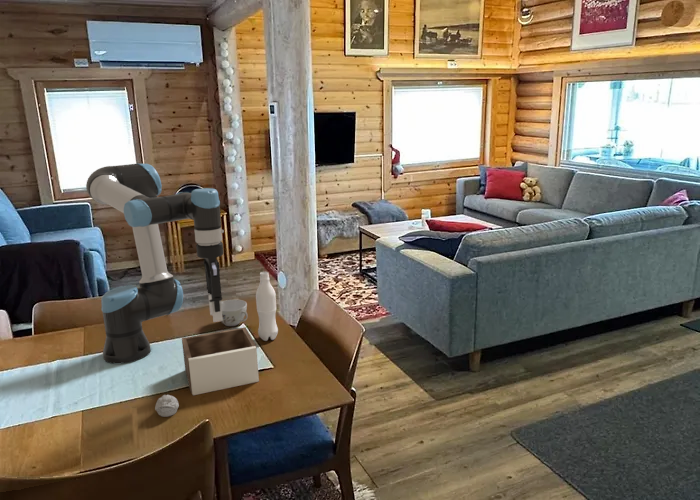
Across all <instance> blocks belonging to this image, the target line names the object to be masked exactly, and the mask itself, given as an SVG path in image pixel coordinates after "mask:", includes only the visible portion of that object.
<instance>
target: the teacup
mask: <svg viewBox="0 0 700 500" xmlns="http://www.w3.org/2000/svg"><path fill="white" fill-rule="evenodd" d="M221 306H222V317H223V321H220V322H221V324H223V325H225V326H226V327H235V326H237V325H239V324H240V323H241V322H246V321H247V319H248V312H247V307H248V303H247V301H245V300H243V299H237V298H235V299H227V300H221Z"/></svg>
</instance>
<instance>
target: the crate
mask: <svg viewBox="0 0 700 500" xmlns="http://www.w3.org/2000/svg"><path fill="white" fill-rule="evenodd" d="M181 342H182V344H181V345H182V352H183V361H184V362H183V363H184V371H185V375H186V379H187V382H188V387H189V391H190V394H192V388H191V378H190V369H189V360H188V358H193V357H199V356H204V355H209V354H215V353H220V352H226V351H231V350H236V349H242V348H247V347H252V346H256V347H257V344H256V343H255V341H254V340H253V338H252V336H251V334H250V332H249V331H248V329H247V328H246V327H239V328H234V329H227V330H220V331H216V332H210V333H204V334H199V335H193V336H187V337H186V336H185V337H181Z"/></svg>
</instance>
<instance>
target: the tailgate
mask: <svg viewBox="0 0 700 500" xmlns="http://www.w3.org/2000/svg"><path fill="white" fill-rule="evenodd" d="M188 360H189V369H190V378H191V388H192V393H191V394H192V396H196V395H201V394H205V393H210V392H211V393H212V392H216V391H220V390H226V389H231V388H234V387H238V386H239V387H240V386H244V385H245V386H246V385H248V384H254V383H258V382H260V379H259V378H260V377H259V364H258V350H257V345H256V346H252V347H247V348H242V349H236V350H231V351H226V352H220V353H215V354H209V355H204V356H199V357H193V358H188Z"/></svg>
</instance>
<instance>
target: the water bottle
mask: <svg viewBox="0 0 700 500" xmlns="http://www.w3.org/2000/svg"><path fill="white" fill-rule="evenodd" d="M269 273H270V272H268V271H260V273H259V281H260V282H259V285H258V286H257V289H256V292H255V303H256V311H257V315H258V323H259V325H258V329H257V333H258V337H259V338H260V339H261V340H262V341H265V342H267V341H268V340H269V339H270V340H271V341H274V340H276V338H277V335H278V333H279V328H278V325H277V322H276V321H277V320H276V311H277V301H276V300H277V299H276V296H277V294H276V291H275V289H274V287H273V286H272V284H271V282H270V276H269Z"/></svg>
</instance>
